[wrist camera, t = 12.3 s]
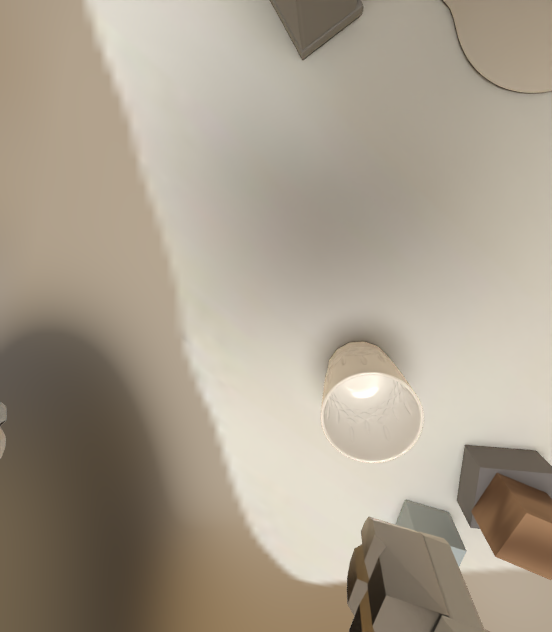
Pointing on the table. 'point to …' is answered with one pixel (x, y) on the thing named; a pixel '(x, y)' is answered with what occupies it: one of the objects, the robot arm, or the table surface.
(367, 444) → the white cup
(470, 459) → the charcoal base block
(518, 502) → the walnut block
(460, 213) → the table surface
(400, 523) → the slate-blue block
